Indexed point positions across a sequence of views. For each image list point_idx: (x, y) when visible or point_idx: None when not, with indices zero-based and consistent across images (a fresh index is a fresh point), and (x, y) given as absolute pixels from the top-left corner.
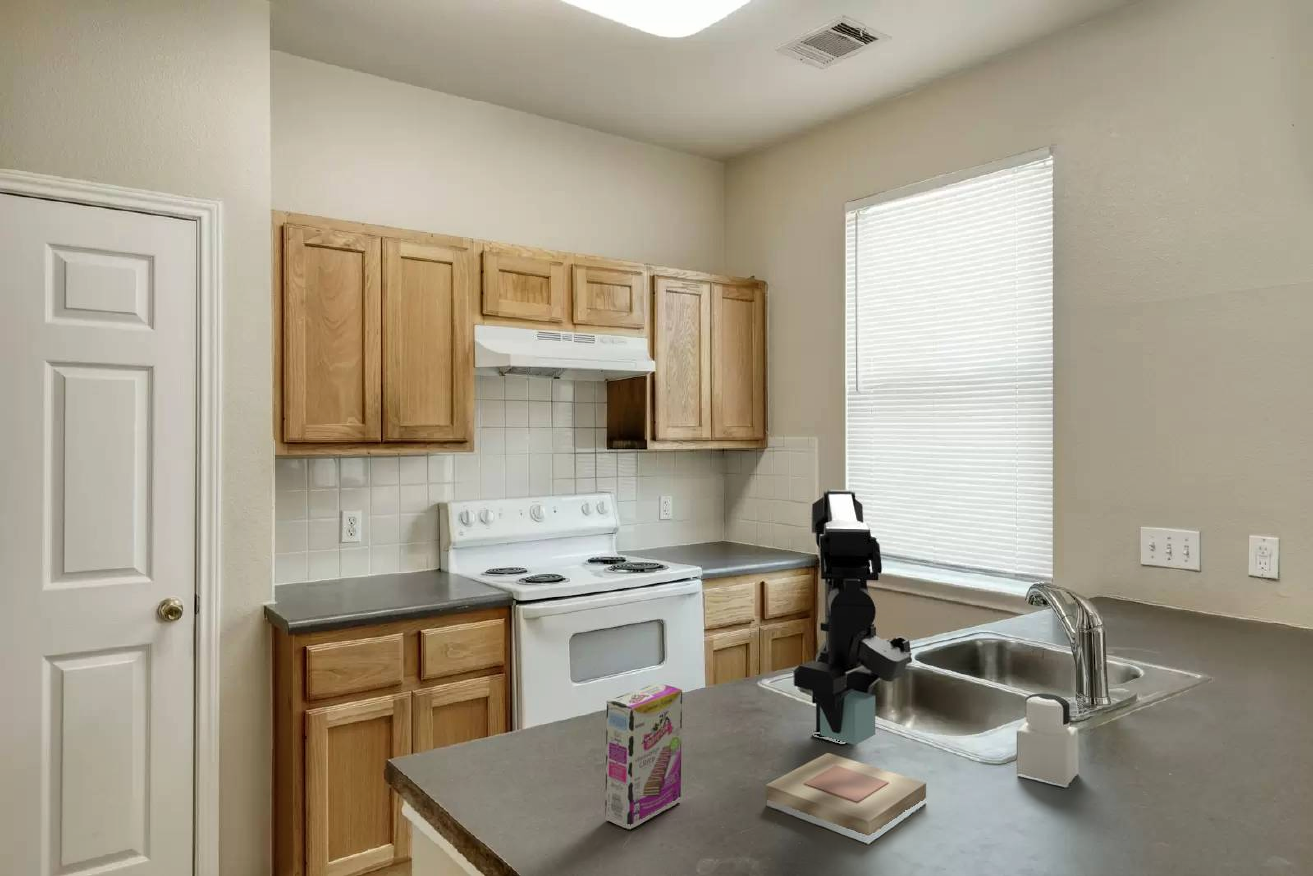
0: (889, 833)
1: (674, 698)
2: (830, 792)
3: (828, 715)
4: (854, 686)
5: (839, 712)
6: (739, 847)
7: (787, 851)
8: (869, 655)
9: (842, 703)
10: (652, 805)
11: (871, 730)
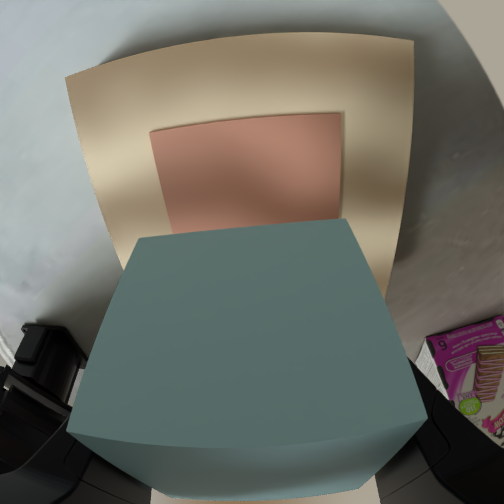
0: (300, 29)
1: None
2: (338, 197)
3: None
4: (127, 495)
5: (437, 391)
6: (501, 215)
7: (486, 155)
8: None
9: (442, 440)
10: (482, 335)
11: (169, 253)
